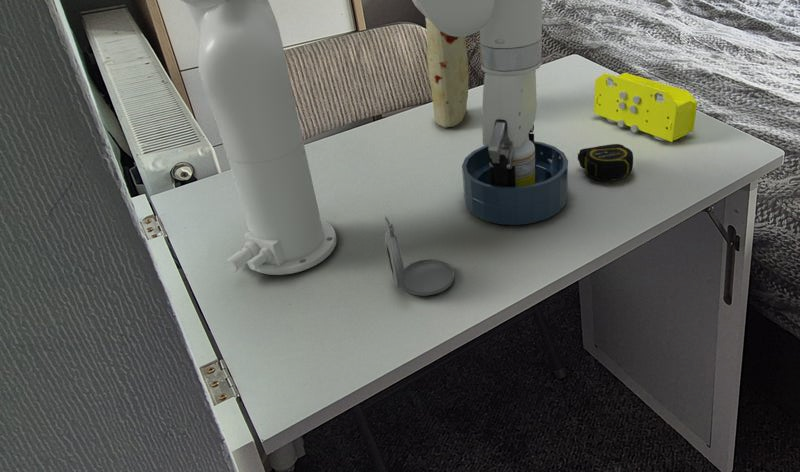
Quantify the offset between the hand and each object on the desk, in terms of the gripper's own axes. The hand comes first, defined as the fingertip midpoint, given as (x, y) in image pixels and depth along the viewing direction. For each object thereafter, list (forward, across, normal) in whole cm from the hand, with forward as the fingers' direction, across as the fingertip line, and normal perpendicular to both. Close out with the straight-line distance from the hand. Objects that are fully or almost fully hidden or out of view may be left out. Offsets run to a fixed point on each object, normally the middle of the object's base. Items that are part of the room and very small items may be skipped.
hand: (513, 174), depth 90 cm
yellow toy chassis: (+4, -27, +14) cm, 30 cm away
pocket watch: (+4, +21, -6) cm, 22 cm away
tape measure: (+4, -10, +11) cm, 16 cm away
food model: (+4, -25, -18) cm, 31 cm away
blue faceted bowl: (+4, 0, 0) cm, 4 cm away
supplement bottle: (+4, 0, 0) cm, 4 cm away
